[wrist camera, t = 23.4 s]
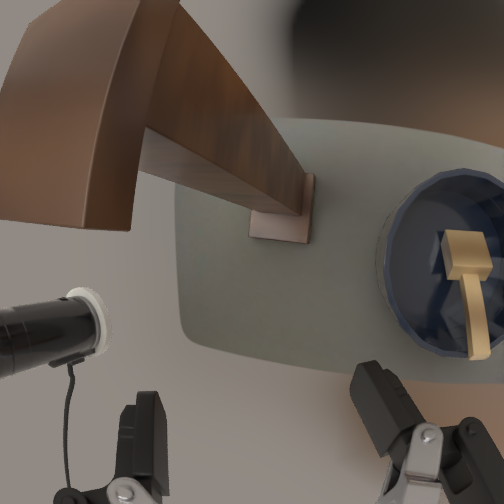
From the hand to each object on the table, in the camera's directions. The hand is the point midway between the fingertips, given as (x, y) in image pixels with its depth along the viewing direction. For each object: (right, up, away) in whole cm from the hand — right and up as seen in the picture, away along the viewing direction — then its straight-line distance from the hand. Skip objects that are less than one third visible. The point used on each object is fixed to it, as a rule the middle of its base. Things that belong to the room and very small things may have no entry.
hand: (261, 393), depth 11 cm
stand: (+3, +11, +25) cm, 28 cm away
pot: (+22, +5, +20) cm, 30 cm away
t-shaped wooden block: (+22, +2, +15) cm, 26 cm away
